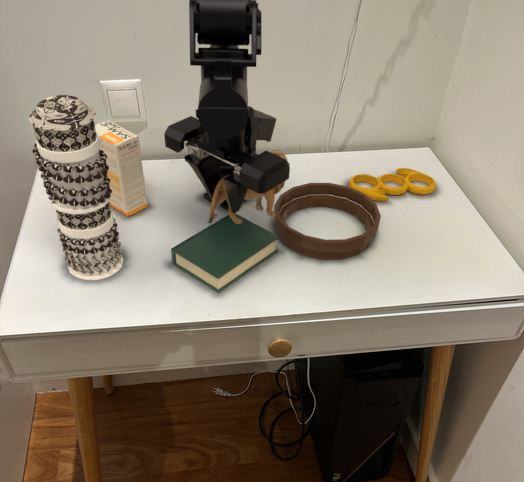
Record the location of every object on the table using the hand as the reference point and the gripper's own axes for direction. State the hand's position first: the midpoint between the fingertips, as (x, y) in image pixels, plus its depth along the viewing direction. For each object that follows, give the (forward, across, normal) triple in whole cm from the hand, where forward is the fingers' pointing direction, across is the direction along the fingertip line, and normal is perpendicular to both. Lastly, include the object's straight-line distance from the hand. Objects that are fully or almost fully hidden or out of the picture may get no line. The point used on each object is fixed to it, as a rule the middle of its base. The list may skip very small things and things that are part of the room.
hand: (225, 206), depth 83 cm
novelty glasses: (+10, -8, -37) cm, 39 cm away
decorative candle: (+10, +14, +15) cm, 23 cm away
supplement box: (+10, +24, +1) cm, 26 cm away
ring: (+9, -7, -17) cm, 21 cm away
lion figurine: (+3, -1, -4) cm, 5 cm away
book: (+9, 0, 0) cm, 9 cm away
